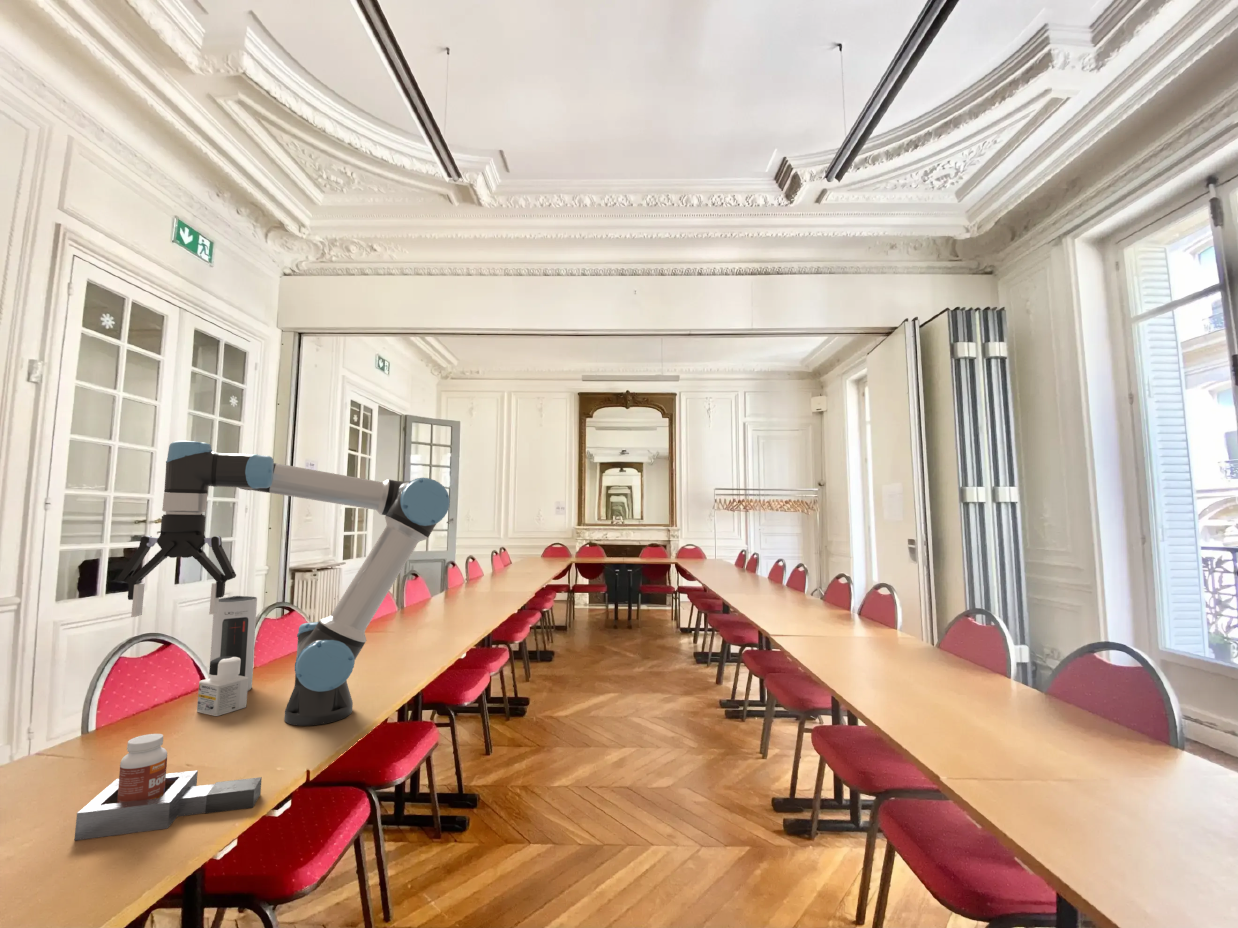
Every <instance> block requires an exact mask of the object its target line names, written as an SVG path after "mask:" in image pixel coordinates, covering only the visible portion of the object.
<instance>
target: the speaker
mask: <svg viewBox="0 0 1238 928" xmlns="http://www.w3.org/2000/svg"><path fill="white" fill-rule="evenodd" d="M257 605H258V597H257V596H246V595H245V596H243V595H234V596H227V597H221V598H219V603H218V612H217V613H215V614H212V625H211V626H212V628H211V642H210V643H211V644H210V657H209V659H210V660H209V663H210V662H211V661H212V660H214V659H216V658H218V657H224V656H236V657H239V658H240V659H241V663H240V674H239V676H245V677H248V690H247V692H249V691H250V690H251V689H253V676H254V674H253V672H254V658H255V656H254V655H255V642H256V623H257V622H256V621H257V608H258V607H257ZM208 670H210V668H209V669H208Z"/></svg>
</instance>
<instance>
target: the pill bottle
mask: <svg viewBox="0 0 1238 928" xmlns="http://www.w3.org/2000/svg"><path fill="white" fill-rule="evenodd" d="M163 744H164V734H162V733H148V734H143V735H142V734H141V735H139V736H136V737H132V738H131V739H129V740H128V741H127V744H126V745H127V746H126V750H127V752H128V753H127V754H126V755H124V756H123V757H122V759H121V760H120V764H119V774H118V776H119V777H118V779H119V786H118V798H117V803H122V802H131V801H139V800H148V799H157V798H161V797H162V796H163V795H164V794H165V781H166V774H167V769H168V767H167V766H168V765H167V764H168V752H167V749H166V748H164V747H162V745H163Z"/></svg>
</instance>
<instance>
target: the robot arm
mask: <svg viewBox="0 0 1238 928" xmlns="http://www.w3.org/2000/svg"><path fill="white" fill-rule="evenodd" d="M274 461H275V460H274V458H273V457H272V456H270V455H262V454H258V453H257V454H256V453H254V454H249V453H247V454H246V453H224V452H223V453H222V452H215V451H213V450H212V445H211V444H210V443H207V442H203V441H192V440H191V441H190V440H175V441H172V442H171V443H170V444H169V445H168V451H167V458H166V461H165V477H164V489H163V490H164V491H163V492H164V493H163V499H162V507H161V508H162V509H161V510H162V511H163V512H165V514H163V515H161V520H160V521H161V523H160V534H159V536H158V537H156V536H155V537H154V536H152V535H143V536H141V538H140V542H139V546H138V548H137V549H136V550H135V552H134V554H133V555H132V557H131V558H130V559H129V560H128V562H127V564H126V565H125V566H124V567H123V570H122V571H121V572H120V574H119V575H118V577H117V581H119V582H123V583H127V585H128V589H127V590H128V591H127V592H128V593H127V599H128V601H132V606H131V618H136V617H139V616H141V615H143V607H144V596H145V595H144V593H145V585H146V584H145V583H144V582H142V581H143V579H145V578H146V577H147V576H148V575H149V574H150V573H151V572H152V571H153V570H154V569H155V568H156V567H158V566H159V564H160V565H161V563H162V562H163V561H164V560H166V559H167V558H168V557H169V558H170V559H171V558H172V559H175V558H183V559H184V558H185V559H186V558H187V559H188V558H191V557H192V558H193V559H195V560H196V561H197V563H198V564H200V565H201V566H202V567H203V568H204V570H205V571H206V572H207V573H208V574H209V575H210V576H211V577H212V579H214V581H215V582H212V583H211V588H210V589H211V590H210V601H209V602H210V603H209V614H208V615H213V614H215V613H217V612H218V603H219V599H221V598H224V597H225V595H226V594H225V591H226V582H227V581H229V580H233V579H235V578H236V577H237V574H236V571H235V570H234V568H233V566H232V563H231V562H230V560H229V558H228V555H227V553H226V551H225V550H224V549H225V548H223V545H222V544H223V542H222V537H221V536H219V535H217V536H216V535H215V536H212V537H206V536H205V532H206V531H205V529H206V516H205V515H204V514H203V513H205V512H206V511H207V504H208V493H209V492H208V490H209V487H215V488H216V487H219V488H223V487H224V488H238V489H240V490H243V491H244V490H245V491H252V492H253V491H255V492H261V493H270V494H275V495H280V496H281V495H282V496H288V497H293V498H299V499H306V500H312V501H319V502H325V503H332V504H337V505H342V506H343V505H344V506H349V507H356V508H362V509H367V510H374V511H377V512H378V514H379V515H381V516H384V519H385V522H386V526H385V528H384V529H383V531H382V532H381V534H380V536H379V537H378V539H377V541H376V542H375V544H374V546H373V547H372V549H371V551H370V552H369V554H368V555H367V557H366V559H365V560H364V561H363V563H362V565H361V566H360V568H359V569H358V571H357V573H356V574H355V576H354V577H353V578H352V581H351V582H350V584H349V586H348V587H347V588H346V590H345V592H344V593H343V595H342V597H341V598H340V599H339V601H338V603H337V605H336V606H335V608H334V609H333V611H332V612H331V614H330V615H328V616H326V617H323V618H320V619H319V621H315V622H305V623H302V624H300V625H299V627H298V632H297V635H296V637H297V646H296V659H295V663H294V673H295V676H294V677H295V678H294V687H293V690H292V692H291V694H290V697H289V699H288V701H287V704H286V707H285V710H284V717H283V719H284V723H286V724H289V725H293V726H299V727H300V726H302V727H303V726H304V727H305V726H306V727H307V726H308V727H309V726H317V725H325V724H330V723H334V722H337V721H340V720H342V719H345V718H347V717H349V716H350V715H351V714H352V713H353V706H354V705H353V704H354V702H353V699H352V695H351V692H350V687H349V685H348V684H349V683H348V681H347V680H349V677H350V676H351V674H352V673H353V669H354V668H355V662H356V660H357V657H358V656H359V655H360V652H361V651H362V649H363V647H364V645H366V642H367V636H366V630H367V628H368V626H369V625H370V623H371V622H372V619H373V618H374V616H375V615H376V613H377V611H379V610H378V609H379V608H380V606H381V605H382V603H383V602H384V600H385V598H386V596H387V595H388V593H389V591H390V590H391V589H392V587H393V585H394V583H395V582H396V580H397V578H398V576H399V575H400V574H401V572H402V570H403V569H404V567H405V565H406V563H407V562H408V560H409V558H410V557H411V555H412V554H413V552H414V550H415V548H416V546H417V545H418V543H420V542H422V541H426V540H428V539H429V537H430V536H431V534H432V532H433V530H434V529H435V528H436V526H437V524H438V523H439V522H441V521H442V520H443V519H444V518H445V517H446V515H447V513H448V511H449V508H450V502H451V501H450V495H449V492H448V491H447V489H446V487H445V486H444V485H443V484H442V483H440V482H439V481H438V480H435V479H432V478H429V477H419V478H418V477H417V478H415V479H413V480H406V481H405V480H393V479H389V478H388V479H385V480H384V481H378V480H377V481H376V480H373V479H367V478H362V477H356V476H349V475H345V474H344V475H343V474H340V473H338V474H337V473H333V472H327V471H322V470H317V469H312V468H311V469H310V468H304V467H298V466H293V465H288V464H282V463H276V462H274ZM156 544H157V545H158V546H159V548H160V550H158V552H157V553H155V554H154V555H153V557H152V558H151V559H150V560H148V562H147V563H146V564H144V565H143V566H142V567H141V568H140V569H138V567H139V566H140V564H141V563H142V562H143V560H144V559H145V557H146V556H147V554H148V553H149V551H150V550H151V548H153V547H154V546H155V545H156ZM206 544H207V545H208V547H209V548H211V550H212V552H213V554H214V556H215V558H216V560H217V563H218V564H219V566H220V568H221V570H222V571H221V570H220V569H219V568H218V567H217V566H216V565H215V563H214V562H213V561H212V560H211V559H210V557H208V556H207V554H206V552H205V551H204V550H203V549H202V548H203V547H204V546H205V545H206ZM137 569H138V571H137V572H136V570H137ZM135 572H136V573H135Z"/></svg>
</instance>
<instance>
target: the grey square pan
mask: <svg viewBox="0 0 1238 928" xmlns="http://www.w3.org/2000/svg"><path fill="white" fill-rule="evenodd" d="M198 773H199V772H198V770H189V771H187V770H186V771H178V772H171V773H170V772H169V773H166V781H165V794H164V795H163V796H162V797H161V798H157V799H148V800H139V801H131V802H122V803H117V798H118V786H119V778H115V780H113V782H111V783H109V785H107V786H106V788H104V789H103V790H101V792H100V793H98V794H97V795H96V796H95V797H94V798H93V799H91V800H90V801H89V802H88V803H87V804H86V805H84V806H83V808H81V809H80V810H79V811H77V812H76V820H75V821H76V822H75V829H74V831H75V832H74V839H73V840H74V841H81V840H88V839H89V840H90V839H95V838H105V837H113V836H120V835H126V834H135V833H142V832H150V831H157V830H158V831H159V830H164V829H165V830H166V829H168V828H169V827H171V825H172V824H173V823H174V822H175V820H176V819H177V817H184V816H192V815H200V814H211V813H220V812H227V811H237V810H242V809H243V810H244V809H252V808H254V806H255V804H256V803H257V801H258V799H259V798H260V796H261V795H262V794H261V793H262V776H261V777H251V778H241V779H234V780H232V779H231V780H224V781H216V782H215V783H213V784H211V783H210V784H203V785H202V784H201V785H197V783H198Z"/></svg>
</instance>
